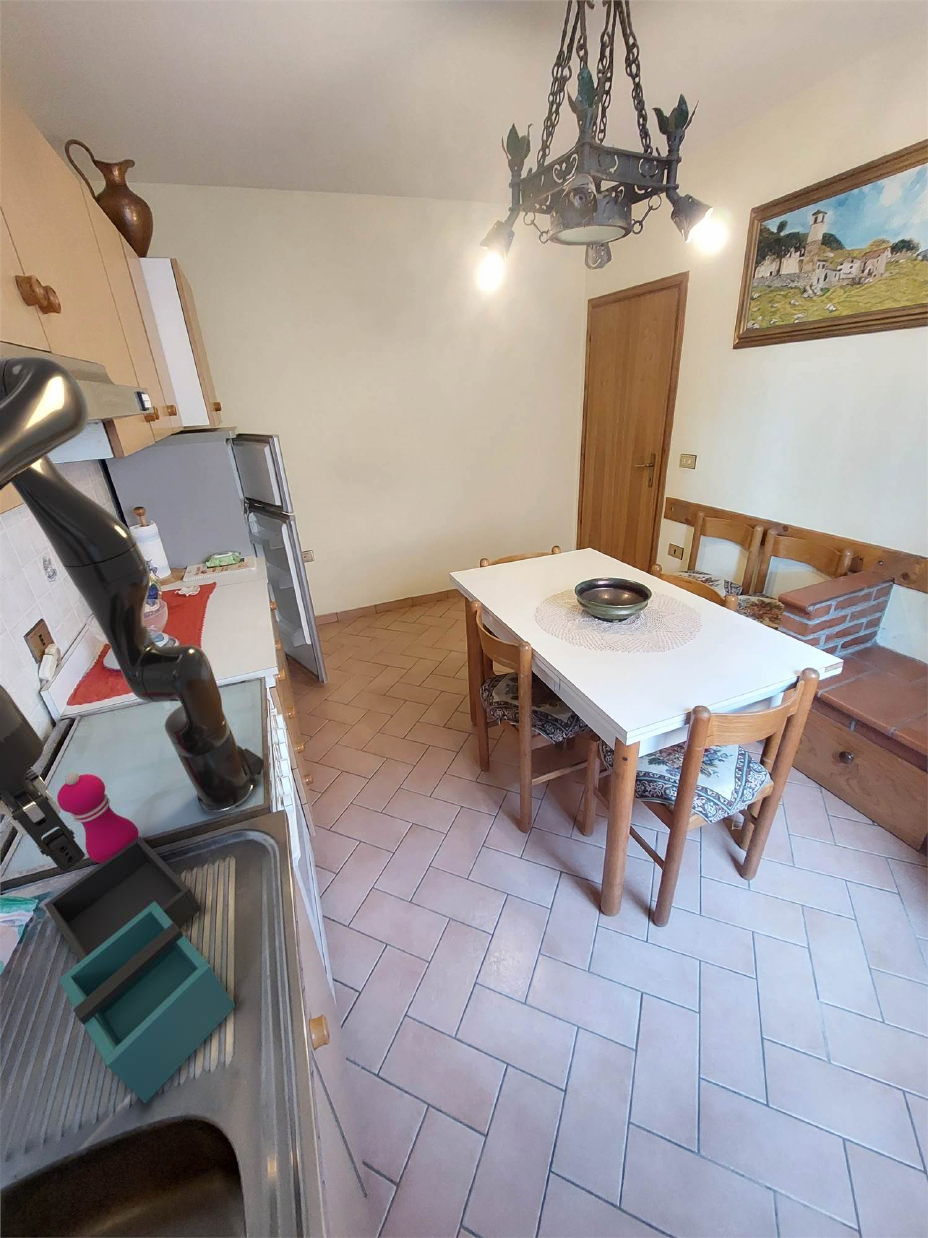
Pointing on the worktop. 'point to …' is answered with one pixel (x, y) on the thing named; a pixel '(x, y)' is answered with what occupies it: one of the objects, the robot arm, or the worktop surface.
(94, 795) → the pepper mill
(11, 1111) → the worktop surface
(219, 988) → the teal tote
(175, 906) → the charcoal bin
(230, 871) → the worktop surface
